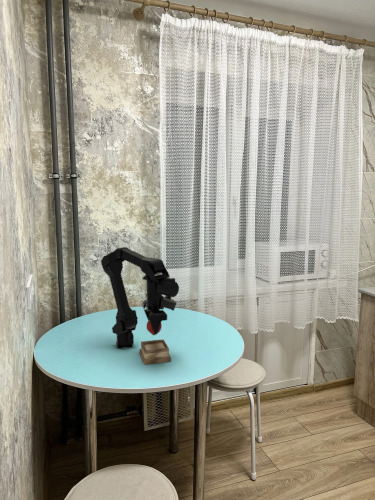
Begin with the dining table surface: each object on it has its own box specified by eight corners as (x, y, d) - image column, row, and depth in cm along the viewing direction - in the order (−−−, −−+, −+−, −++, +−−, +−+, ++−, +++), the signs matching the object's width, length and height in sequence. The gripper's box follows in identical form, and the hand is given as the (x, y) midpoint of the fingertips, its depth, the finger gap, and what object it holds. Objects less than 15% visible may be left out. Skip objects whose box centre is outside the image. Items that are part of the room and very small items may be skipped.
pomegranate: (154, 331, 150) (154, 312, 148) (164, 334, 146) (164, 315, 145) (143, 335, 145) (143, 315, 144) (154, 339, 141) (154, 318, 140)
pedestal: (143, 364, 140) (143, 351, 140) (139, 353, 150) (139, 341, 150) (170, 361, 143) (170, 348, 143) (164, 350, 153) (164, 338, 152)
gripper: (180, 297, 136) (180, 338, 139) (168, 285, 154) (168, 321, 156) (150, 299, 133) (151, 341, 136) (142, 286, 151) (142, 323, 153)
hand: (154, 331), depth 145 cm, fingers closed on pomegranate, 6 cm apart
